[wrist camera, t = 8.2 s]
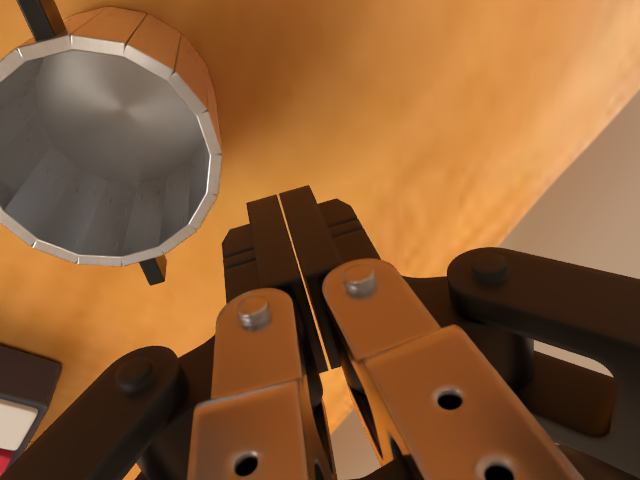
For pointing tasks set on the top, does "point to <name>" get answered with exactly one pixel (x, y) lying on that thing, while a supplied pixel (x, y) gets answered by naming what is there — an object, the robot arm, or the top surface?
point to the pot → (106, 138)
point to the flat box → (23, 400)
